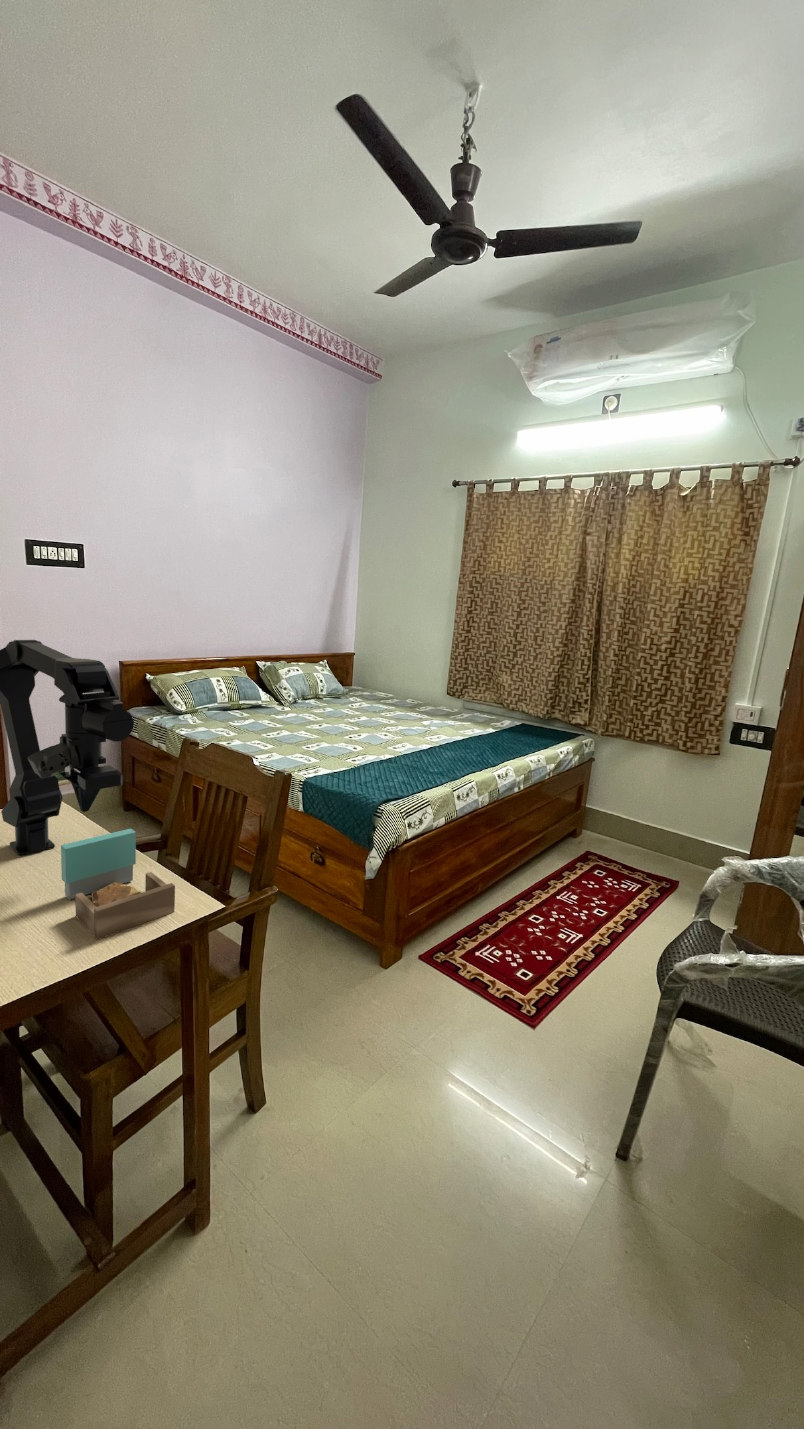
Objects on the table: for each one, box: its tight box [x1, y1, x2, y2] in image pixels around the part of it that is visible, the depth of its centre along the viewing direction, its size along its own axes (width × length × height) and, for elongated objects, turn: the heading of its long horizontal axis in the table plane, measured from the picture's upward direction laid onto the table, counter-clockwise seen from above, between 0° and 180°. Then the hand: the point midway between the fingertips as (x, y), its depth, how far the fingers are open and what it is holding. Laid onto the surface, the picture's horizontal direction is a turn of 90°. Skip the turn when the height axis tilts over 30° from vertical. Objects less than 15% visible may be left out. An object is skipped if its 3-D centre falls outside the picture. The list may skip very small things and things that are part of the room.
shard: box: [91, 882, 142, 907], centre depth 99 cm, size 11×8×2 cm
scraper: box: [60, 828, 137, 900], centre depth 103 cm, size 2×12×10 cm, turn 139°
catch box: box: [74, 871, 176, 941], centre depth 97 cm, size 9×13×5 cm
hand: (84, 811), depth 106 cm, fingers closed
